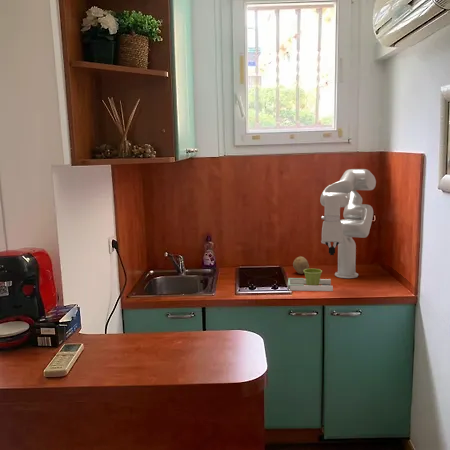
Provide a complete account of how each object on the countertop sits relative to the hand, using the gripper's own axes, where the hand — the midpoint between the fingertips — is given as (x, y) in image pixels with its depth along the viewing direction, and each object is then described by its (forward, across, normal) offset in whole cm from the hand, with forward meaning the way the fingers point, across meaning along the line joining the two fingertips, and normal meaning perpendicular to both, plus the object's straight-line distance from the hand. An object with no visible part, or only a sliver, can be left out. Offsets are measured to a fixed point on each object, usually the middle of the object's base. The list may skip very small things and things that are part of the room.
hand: (331, 254), depth 234 cm
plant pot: (+17, -9, 0) cm, 20 cm away
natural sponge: (+17, -15, +28) cm, 36 cm away
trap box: (+17, -11, 0) cm, 20 cm away
